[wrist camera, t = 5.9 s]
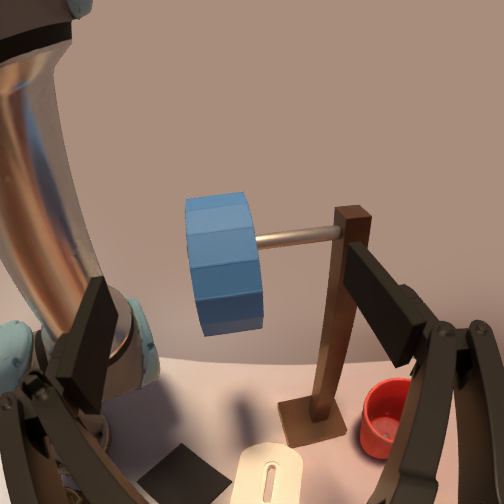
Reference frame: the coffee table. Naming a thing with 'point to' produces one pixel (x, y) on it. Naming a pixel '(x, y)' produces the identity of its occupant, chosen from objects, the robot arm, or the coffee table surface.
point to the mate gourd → (75, 496)
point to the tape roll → (224, 263)
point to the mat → (183, 479)
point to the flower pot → (383, 416)
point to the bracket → (255, 474)
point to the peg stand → (324, 328)
